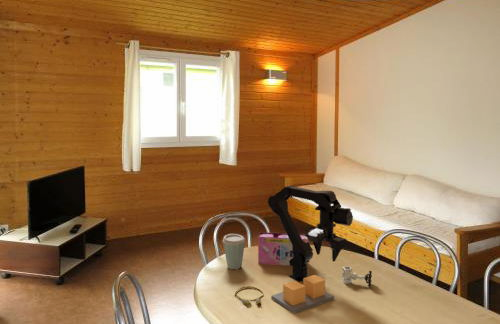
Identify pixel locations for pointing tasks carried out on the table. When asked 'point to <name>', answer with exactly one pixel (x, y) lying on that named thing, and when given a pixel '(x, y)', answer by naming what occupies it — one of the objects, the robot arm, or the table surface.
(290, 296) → the matte orange cube
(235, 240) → the disposable coffee cup
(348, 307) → the table surface
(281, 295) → the board
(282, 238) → the gum box
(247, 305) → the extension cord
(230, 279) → the table surface
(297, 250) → the robot arm
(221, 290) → the table surface
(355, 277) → the valve
